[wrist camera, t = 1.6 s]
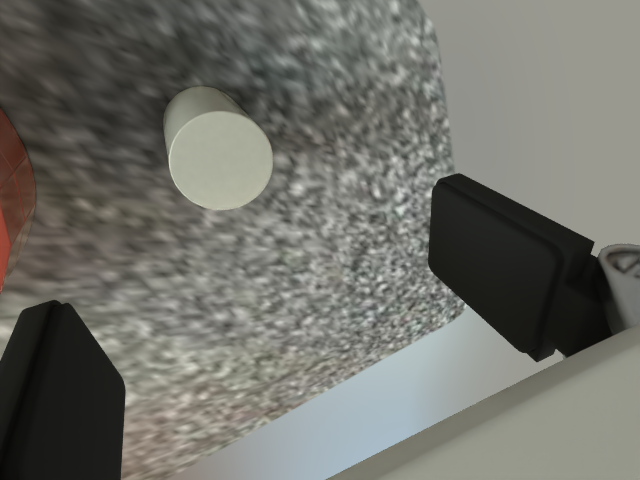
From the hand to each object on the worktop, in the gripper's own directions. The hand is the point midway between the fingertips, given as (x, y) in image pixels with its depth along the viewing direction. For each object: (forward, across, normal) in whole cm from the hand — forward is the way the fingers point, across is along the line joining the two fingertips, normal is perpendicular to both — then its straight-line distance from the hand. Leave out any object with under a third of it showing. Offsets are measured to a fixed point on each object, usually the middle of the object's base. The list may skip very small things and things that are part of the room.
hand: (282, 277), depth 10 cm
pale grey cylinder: (+14, 0, 0) cm, 14 cm away
